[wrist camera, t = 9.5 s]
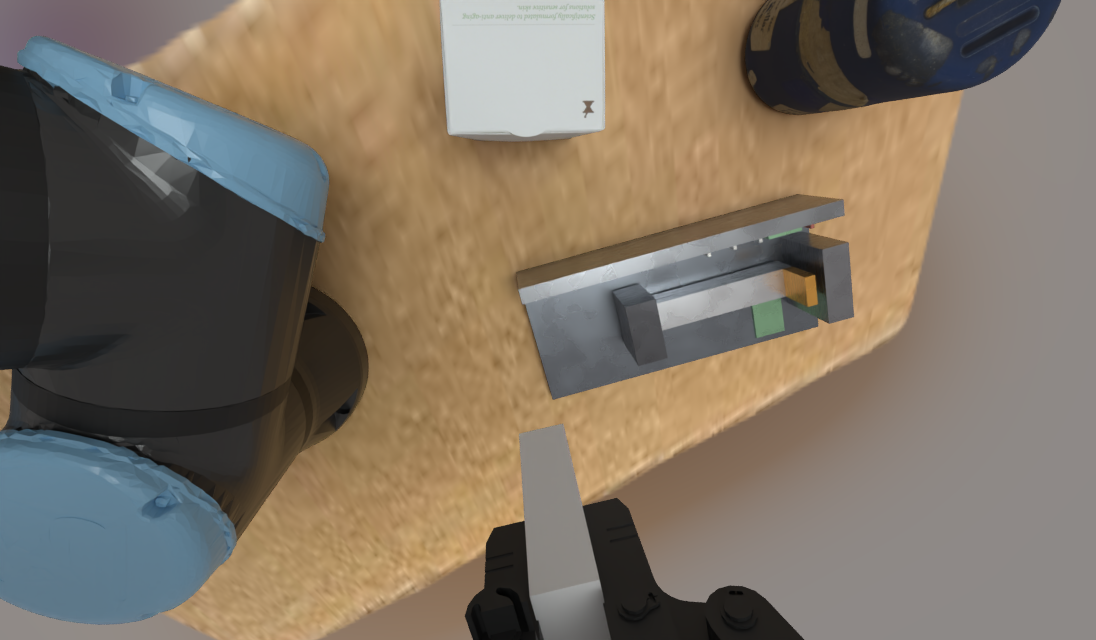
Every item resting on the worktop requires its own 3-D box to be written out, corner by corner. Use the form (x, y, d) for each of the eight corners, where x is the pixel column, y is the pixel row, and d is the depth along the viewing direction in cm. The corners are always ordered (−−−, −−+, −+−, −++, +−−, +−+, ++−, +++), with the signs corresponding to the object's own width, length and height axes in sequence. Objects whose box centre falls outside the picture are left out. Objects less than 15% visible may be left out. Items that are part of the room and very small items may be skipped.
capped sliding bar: (624, 344, 45) (640, 369, 39) (612, 291, 43) (627, 309, 38) (781, 300, 45) (819, 319, 39) (775, 246, 43) (813, 258, 38)
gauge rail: (551, 393, 47) (559, 433, 40) (516, 272, 44) (518, 292, 37) (810, 322, 47) (862, 349, 40) (797, 194, 43) (852, 200, 37)
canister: (856, 100, 42) (1103, 60, 24) (744, 130, 42) (912, 110, 24) (849, -32, 39) (1125, -185, 21) (729, 0, 39) (908, -127, 21)
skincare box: (573, 53, 39) (615, -13, 24) (573, 144, 41) (611, 135, 26) (463, 53, 38) (436, -15, 23) (468, 146, 40) (446, 137, 25)
